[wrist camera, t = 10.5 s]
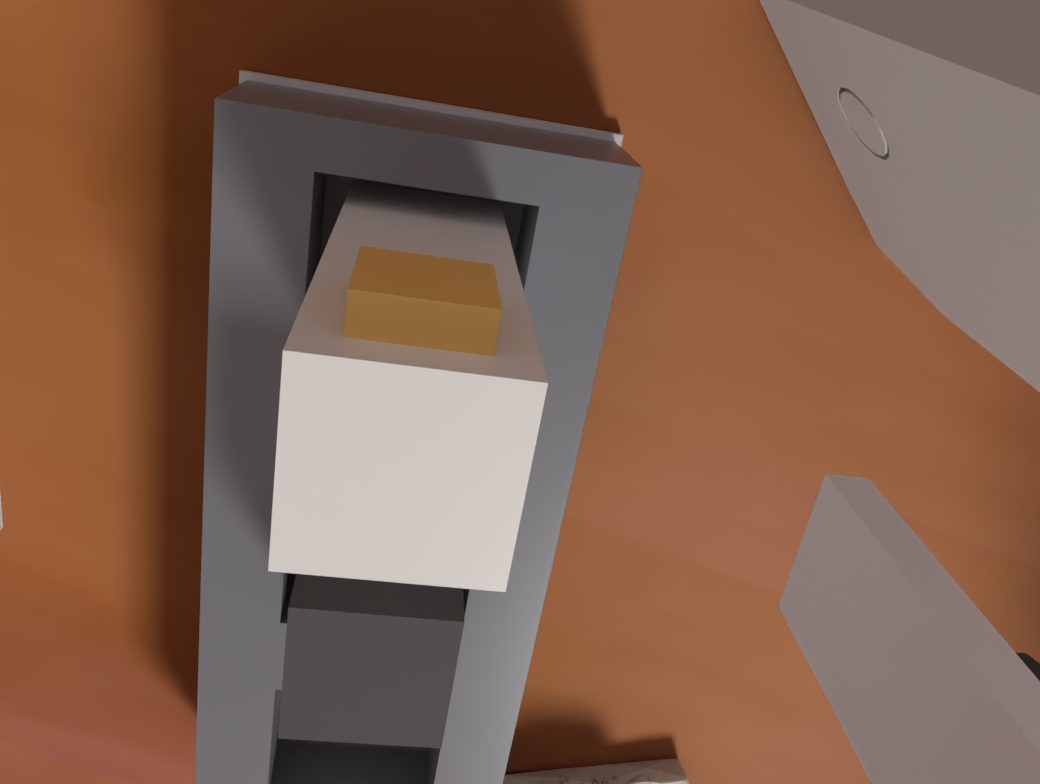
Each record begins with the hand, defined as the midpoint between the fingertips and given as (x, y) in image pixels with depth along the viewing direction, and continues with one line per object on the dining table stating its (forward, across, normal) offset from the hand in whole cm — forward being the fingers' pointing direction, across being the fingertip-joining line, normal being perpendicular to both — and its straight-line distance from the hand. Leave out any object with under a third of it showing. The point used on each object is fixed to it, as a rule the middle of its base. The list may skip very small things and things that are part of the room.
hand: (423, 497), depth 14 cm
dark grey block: (+12, +1, +8) cm, 14 cm away
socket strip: (+13, +1, +8) cm, 15 cm away
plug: (+12, +1, 0) cm, 12 cm away
